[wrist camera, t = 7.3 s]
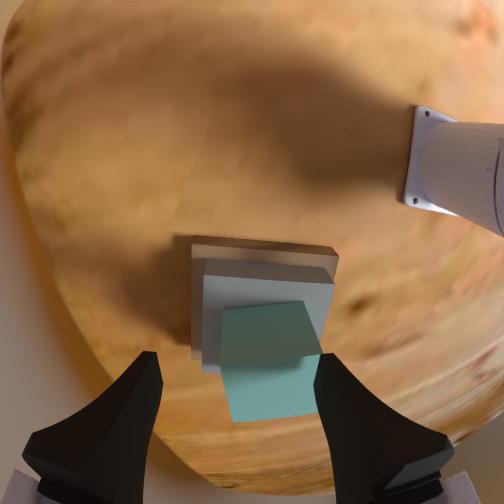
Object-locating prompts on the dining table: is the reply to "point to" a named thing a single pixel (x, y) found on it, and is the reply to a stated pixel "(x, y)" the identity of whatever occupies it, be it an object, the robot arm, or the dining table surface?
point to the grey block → (258, 296)
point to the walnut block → (250, 253)
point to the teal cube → (269, 361)
